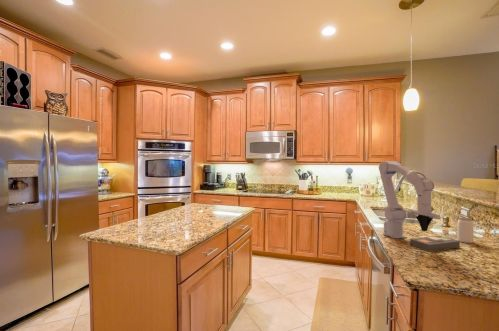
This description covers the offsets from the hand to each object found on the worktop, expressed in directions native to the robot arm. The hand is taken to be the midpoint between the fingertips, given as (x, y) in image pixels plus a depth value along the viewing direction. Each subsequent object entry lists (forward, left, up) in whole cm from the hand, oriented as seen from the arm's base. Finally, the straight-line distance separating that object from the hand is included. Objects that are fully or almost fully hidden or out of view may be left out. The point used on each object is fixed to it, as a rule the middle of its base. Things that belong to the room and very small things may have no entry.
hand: (424, 230), depth 123 cm
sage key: (0, +13, -7) cm, 15 cm away
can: (-1, +29, -8) cm, 31 cm away
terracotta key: (0, 0, -7) cm, 7 cm away
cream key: (0, +7, -6) cm, 9 cm away
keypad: (0, +6, -8) cm, 11 cm away
